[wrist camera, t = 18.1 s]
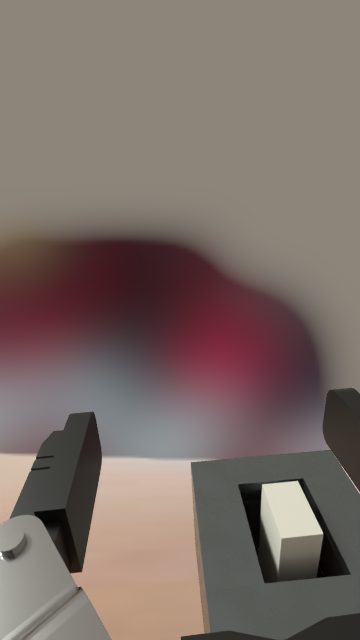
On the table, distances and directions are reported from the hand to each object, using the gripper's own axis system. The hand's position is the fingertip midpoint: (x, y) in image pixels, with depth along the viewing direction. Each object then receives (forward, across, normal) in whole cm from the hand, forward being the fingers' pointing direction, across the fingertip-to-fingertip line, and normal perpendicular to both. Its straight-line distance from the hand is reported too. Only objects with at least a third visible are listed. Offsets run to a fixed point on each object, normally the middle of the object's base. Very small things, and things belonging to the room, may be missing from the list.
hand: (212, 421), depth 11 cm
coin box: (+8, -7, +30) cm, 32 cm away
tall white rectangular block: (+8, -7, +30) cm, 32 cm away
